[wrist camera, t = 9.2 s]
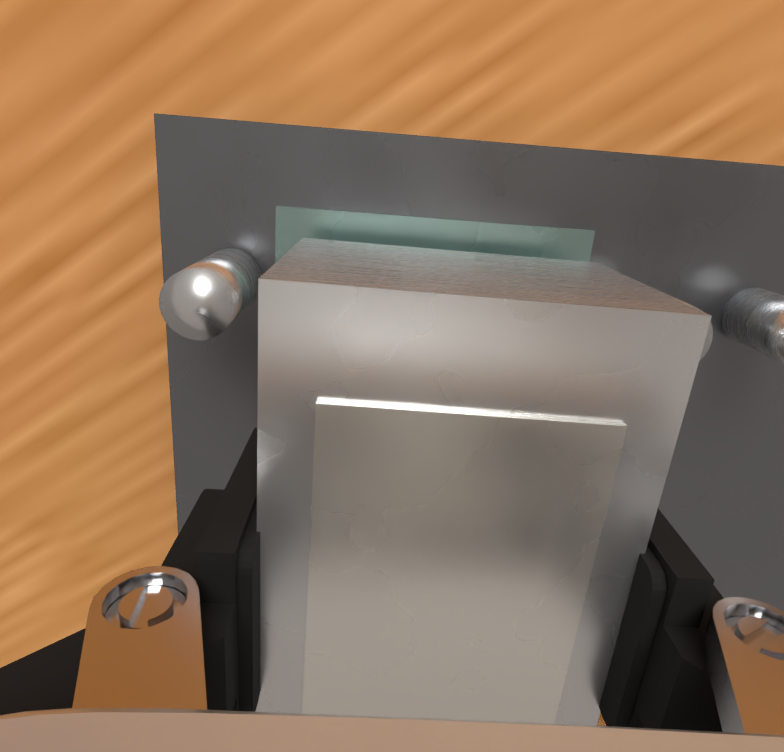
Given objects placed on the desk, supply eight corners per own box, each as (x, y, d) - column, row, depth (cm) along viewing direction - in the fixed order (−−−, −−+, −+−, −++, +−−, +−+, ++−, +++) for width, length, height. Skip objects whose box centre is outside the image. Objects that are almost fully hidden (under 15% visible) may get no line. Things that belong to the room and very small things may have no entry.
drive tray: (1155, 200, 13) (1461, 215, 10) (919, 669, 18) (1060, 802, 14) (179, 119, 12) (91, 99, 9) (202, 636, 17) (152, 770, 13)
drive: (598, 262, 11) (717, 317, 7) (514, 671, 14) (562, 859, 10) (302, 238, 11) (257, 279, 7) (289, 658, 14) (253, 846, 10)
